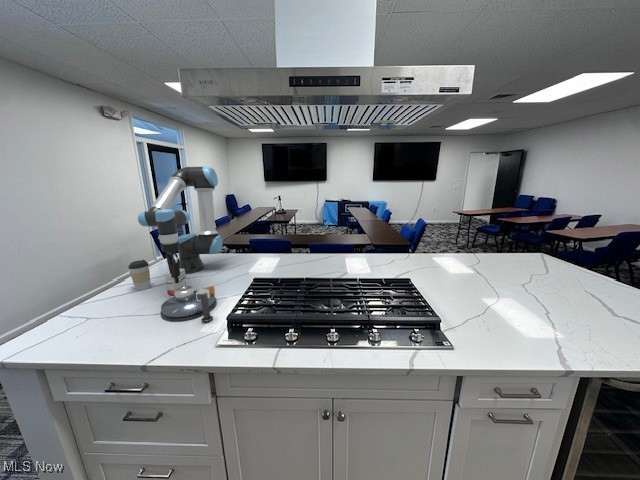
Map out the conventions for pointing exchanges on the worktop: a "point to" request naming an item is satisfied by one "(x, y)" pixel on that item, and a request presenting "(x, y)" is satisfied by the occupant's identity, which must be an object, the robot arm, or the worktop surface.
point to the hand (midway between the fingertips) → (177, 288)
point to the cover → (184, 293)
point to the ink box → (170, 281)
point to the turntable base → (187, 317)
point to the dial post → (204, 304)
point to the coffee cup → (140, 274)
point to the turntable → (186, 306)
